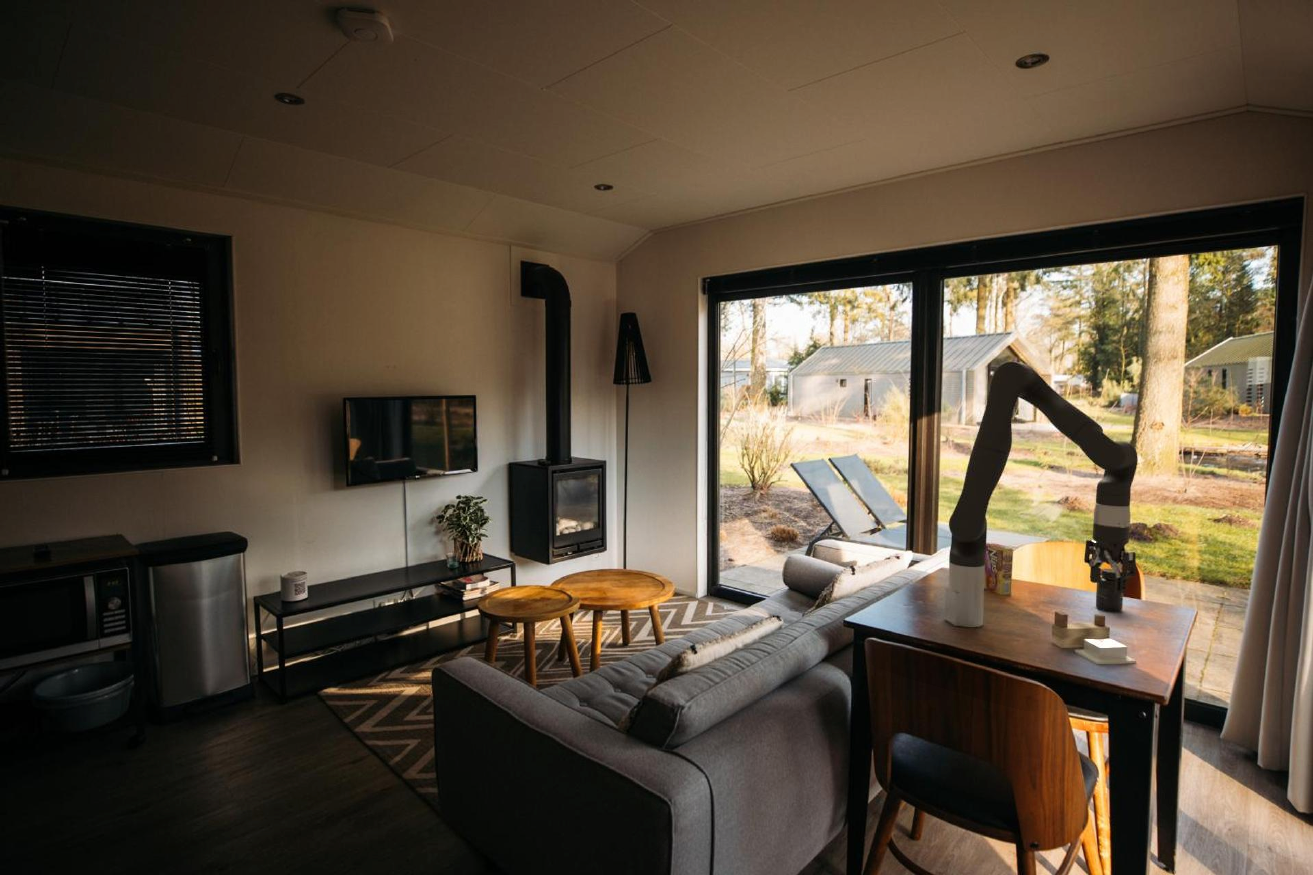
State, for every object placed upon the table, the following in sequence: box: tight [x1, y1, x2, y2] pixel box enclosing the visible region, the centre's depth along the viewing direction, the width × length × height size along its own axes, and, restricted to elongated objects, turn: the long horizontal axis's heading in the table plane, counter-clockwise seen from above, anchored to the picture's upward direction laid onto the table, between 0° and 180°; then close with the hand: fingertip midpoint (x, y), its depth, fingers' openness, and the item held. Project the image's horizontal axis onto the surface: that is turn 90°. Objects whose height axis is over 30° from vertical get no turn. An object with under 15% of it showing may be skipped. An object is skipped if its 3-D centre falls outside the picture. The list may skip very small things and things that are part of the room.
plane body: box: [1051, 610, 1111, 649], centre depth 181 cm, size 13×4×8 cm, turn 95°
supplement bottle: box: [1095, 568, 1124, 613], centre depth 210 cm, size 7×7×12 cm
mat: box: [1074, 648, 1137, 665], centre depth 172 cm, size 10×8×1 cm
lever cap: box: [1083, 638, 1128, 660], centre depth 172 cm, size 7×6×3 cm
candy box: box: [984, 542, 1014, 596], centre depth 229 cm, size 9×4×15 cm, turn 13°
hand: (1107, 587), depth 171 cm, fingers open, 8 cm apart
